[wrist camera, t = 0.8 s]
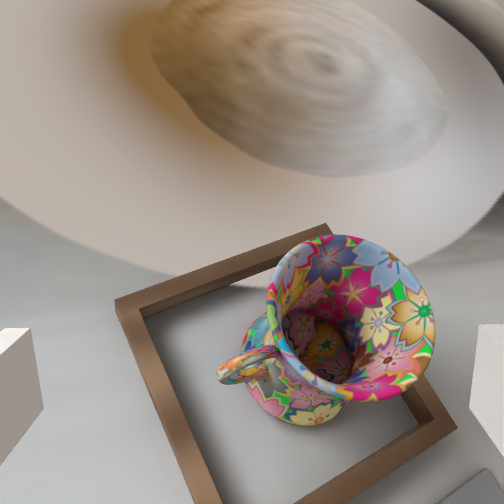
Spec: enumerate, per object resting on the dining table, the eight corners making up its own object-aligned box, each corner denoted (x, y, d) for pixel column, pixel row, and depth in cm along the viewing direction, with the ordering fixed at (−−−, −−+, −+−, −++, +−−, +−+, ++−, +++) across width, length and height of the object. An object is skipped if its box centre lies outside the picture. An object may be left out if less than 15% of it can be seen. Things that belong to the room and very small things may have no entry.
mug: (320, 289, 37) (378, 216, 28) (380, 401, 34) (469, 358, 25) (176, 342, 33) (190, 275, 24) (228, 477, 29) (269, 459, 20)
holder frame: (115, 311, 33) (114, 299, 31) (317, 235, 40) (326, 222, 38) (224, 575, 27) (229, 579, 25) (441, 432, 33) (458, 427, 32)
